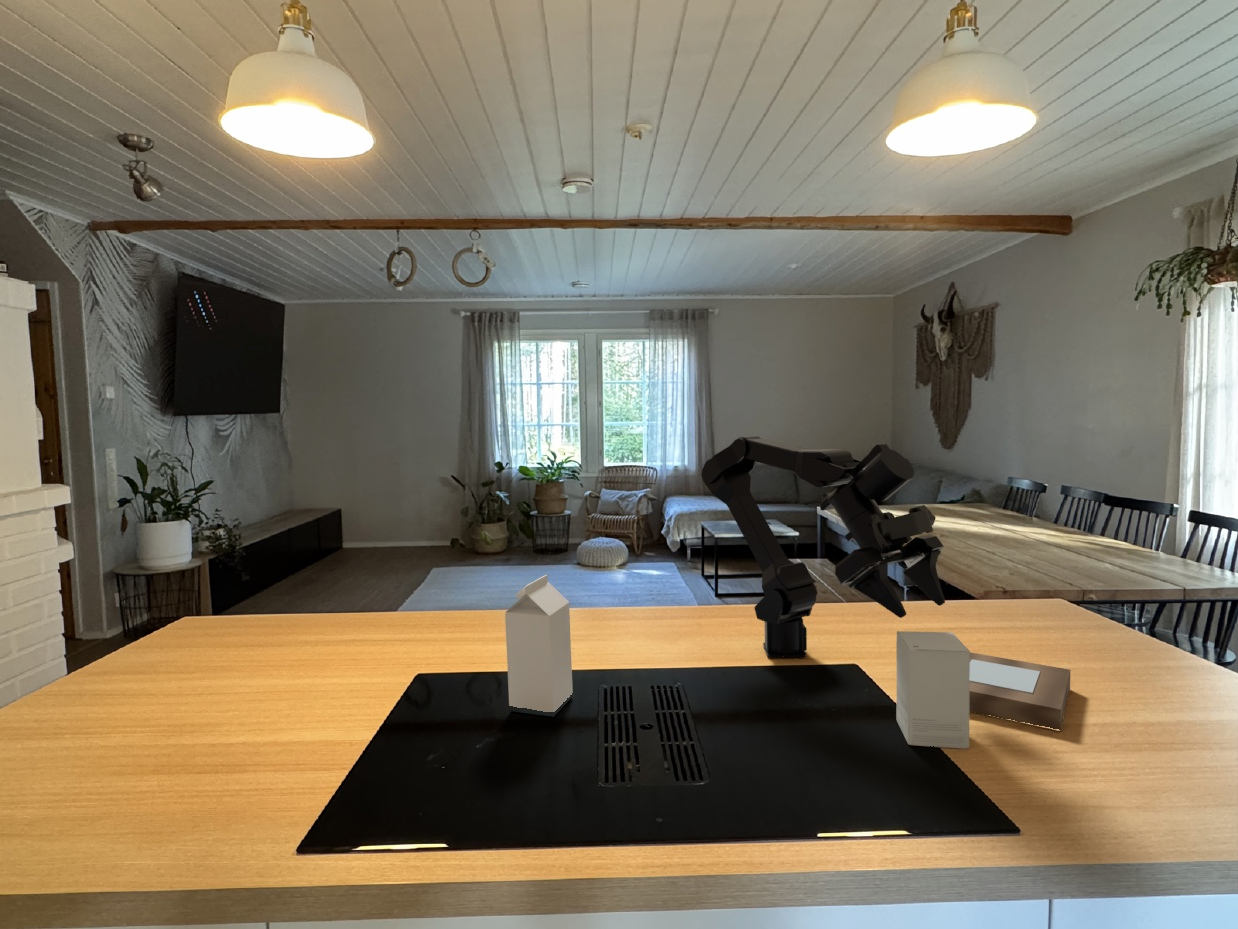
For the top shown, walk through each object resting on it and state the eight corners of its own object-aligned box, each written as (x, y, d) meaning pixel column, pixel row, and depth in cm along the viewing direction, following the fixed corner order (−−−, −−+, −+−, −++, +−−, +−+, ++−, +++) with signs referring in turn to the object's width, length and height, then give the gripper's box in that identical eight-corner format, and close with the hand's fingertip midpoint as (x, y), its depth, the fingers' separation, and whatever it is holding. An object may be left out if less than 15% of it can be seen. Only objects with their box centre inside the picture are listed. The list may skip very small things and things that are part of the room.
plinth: (927, 702, 96) (927, 681, 96) (951, 667, 109) (952, 648, 109) (1060, 732, 87) (1060, 708, 86) (1070, 689, 99) (1070, 668, 99)
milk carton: (573, 698, 102) (568, 575, 100) (553, 719, 95) (548, 587, 94) (531, 693, 104) (525, 573, 103) (509, 713, 97) (503, 585, 96)
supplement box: (970, 750, 83) (971, 651, 82) (907, 746, 84) (907, 648, 83) (953, 723, 90) (954, 631, 89) (895, 719, 92) (895, 629, 91)
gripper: (857, 493, 92) (924, 595, 84) (936, 482, 102) (1003, 572, 94) (809, 536, 99) (867, 633, 92) (887, 522, 110) (945, 608, 102)
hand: (923, 610), depth 95 cm, fingers open, 9 cm apart
